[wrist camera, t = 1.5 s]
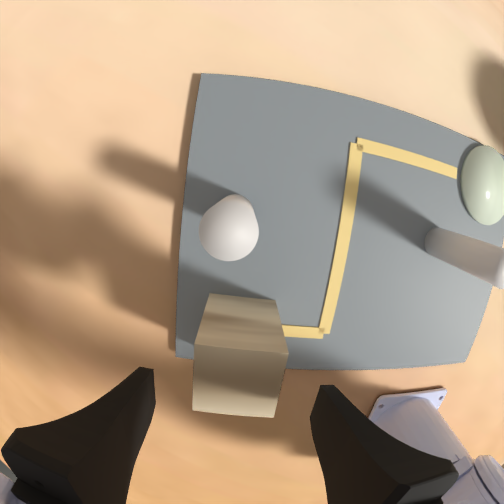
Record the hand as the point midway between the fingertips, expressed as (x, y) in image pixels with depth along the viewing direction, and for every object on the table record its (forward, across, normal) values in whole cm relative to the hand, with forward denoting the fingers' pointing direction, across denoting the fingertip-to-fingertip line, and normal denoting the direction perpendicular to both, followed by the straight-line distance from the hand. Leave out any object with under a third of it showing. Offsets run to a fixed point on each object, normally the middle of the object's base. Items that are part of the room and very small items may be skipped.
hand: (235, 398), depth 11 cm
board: (+8, -8, -6) cm, 13 cm away
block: (+7, 0, 0) cm, 7 cm away
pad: (+8, -17, -12) cm, 22 cm away
